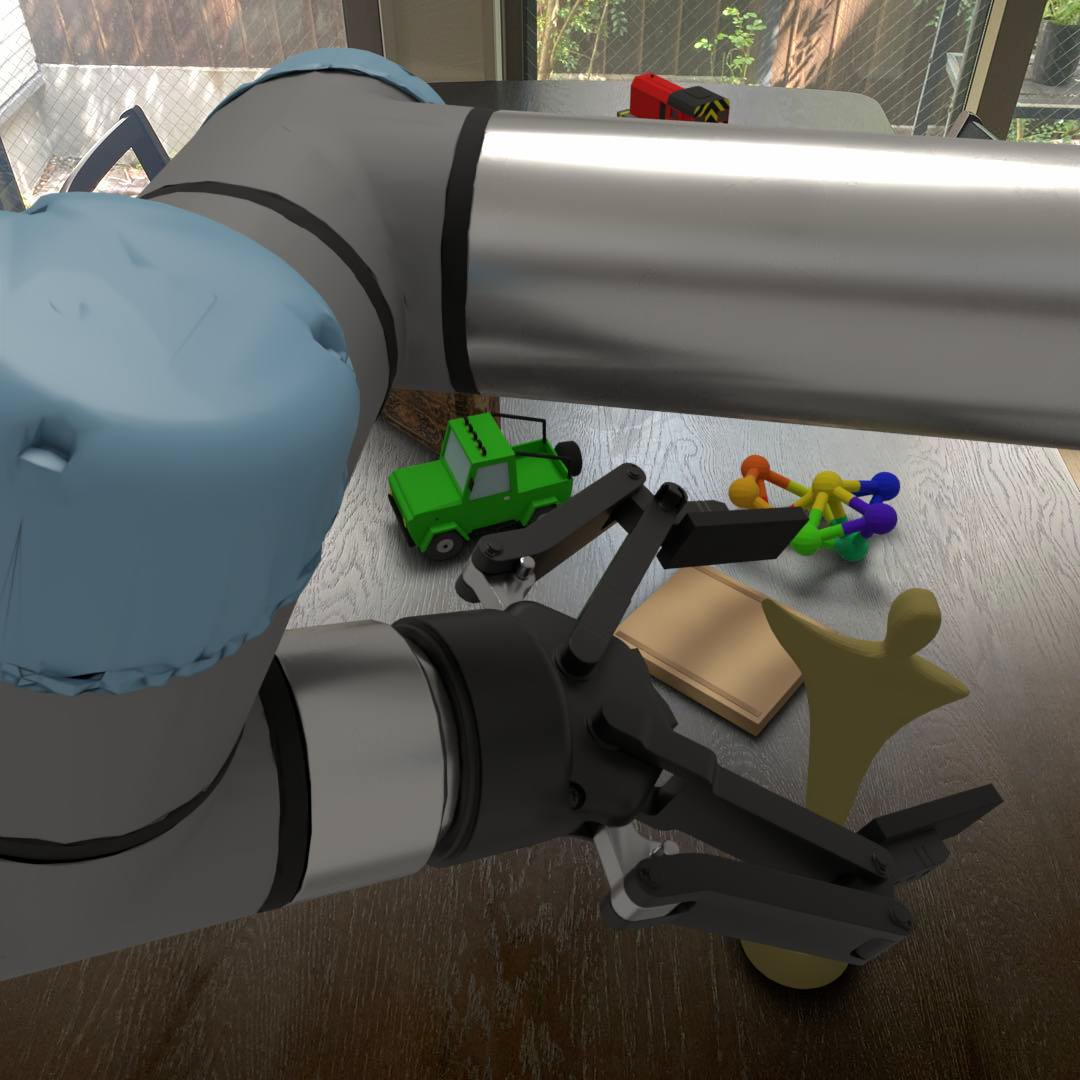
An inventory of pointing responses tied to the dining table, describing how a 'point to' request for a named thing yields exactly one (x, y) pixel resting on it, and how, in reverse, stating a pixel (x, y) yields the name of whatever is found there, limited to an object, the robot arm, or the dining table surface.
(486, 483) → the toy car
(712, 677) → the serving board
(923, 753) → the dining table surface
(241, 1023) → the dining table surface
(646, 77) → the toy train
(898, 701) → the sculpture
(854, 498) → the decorative model
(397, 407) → the book
